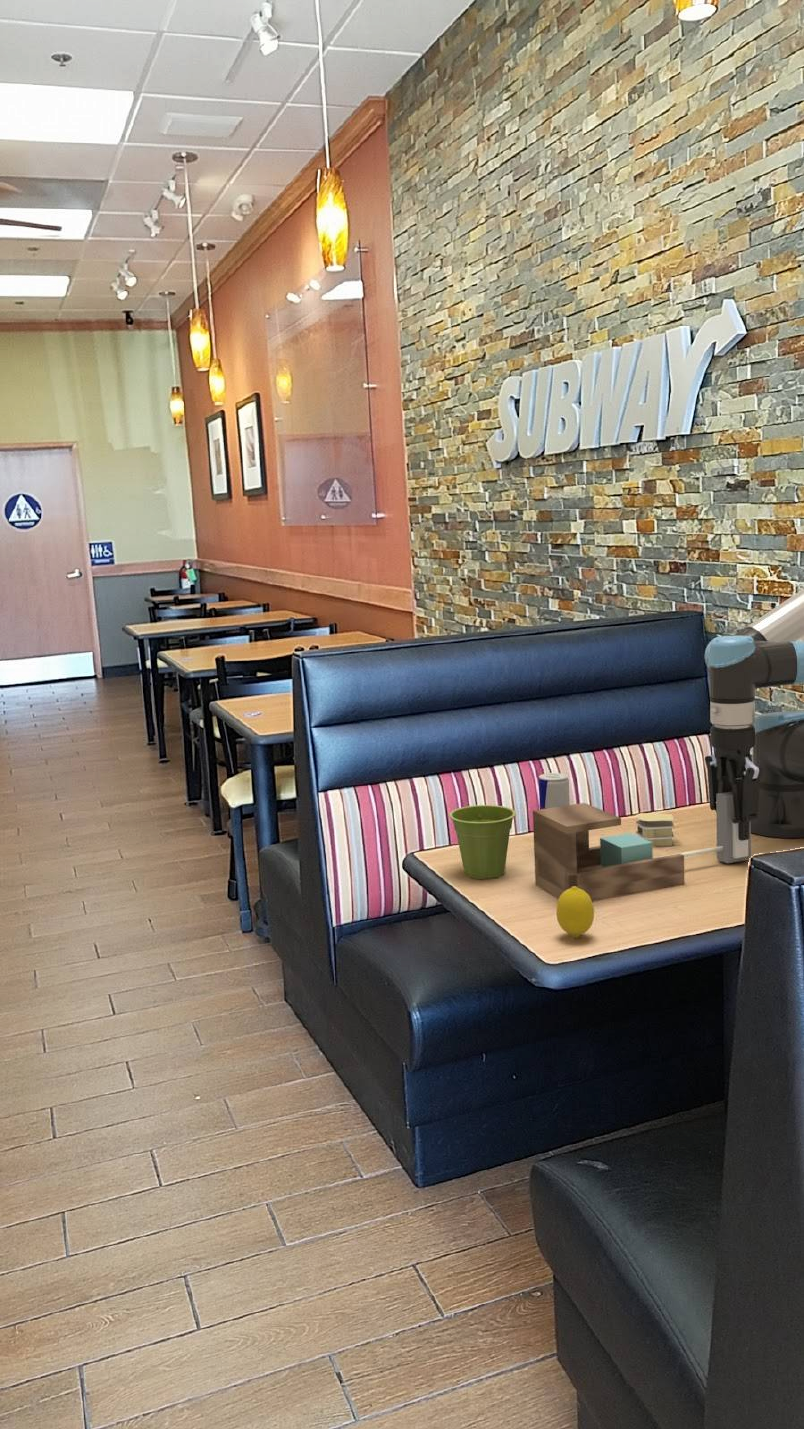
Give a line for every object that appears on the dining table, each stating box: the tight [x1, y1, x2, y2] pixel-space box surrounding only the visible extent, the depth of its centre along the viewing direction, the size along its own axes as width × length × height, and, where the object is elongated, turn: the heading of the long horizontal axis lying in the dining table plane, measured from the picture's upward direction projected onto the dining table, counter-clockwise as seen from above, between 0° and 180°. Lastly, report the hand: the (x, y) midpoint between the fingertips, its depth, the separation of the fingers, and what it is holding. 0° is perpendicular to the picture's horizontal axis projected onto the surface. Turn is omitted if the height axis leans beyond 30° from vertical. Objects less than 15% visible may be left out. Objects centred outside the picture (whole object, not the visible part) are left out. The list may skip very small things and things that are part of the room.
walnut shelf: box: [532, 802, 685, 902], centre depth 187 cm, size 22×12×13 cm, turn 110°
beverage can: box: [538, 772, 571, 810], centre depth 207 cm, size 6×6×15 cm
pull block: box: [599, 791, 752, 867], centre depth 192 cm, size 28×7×12 cm, turn 110°
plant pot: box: [448, 804, 517, 880], centre depth 197 cm, size 12×12×11 cm
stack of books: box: [634, 812, 675, 848], centre depth 210 cm, size 10×9×6 cm
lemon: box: [555, 886, 595, 939], centre depth 164 cm, size 6×6×8 cm
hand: (733, 853), depth 196 cm, fingers closed on pull block, 3 cm apart
